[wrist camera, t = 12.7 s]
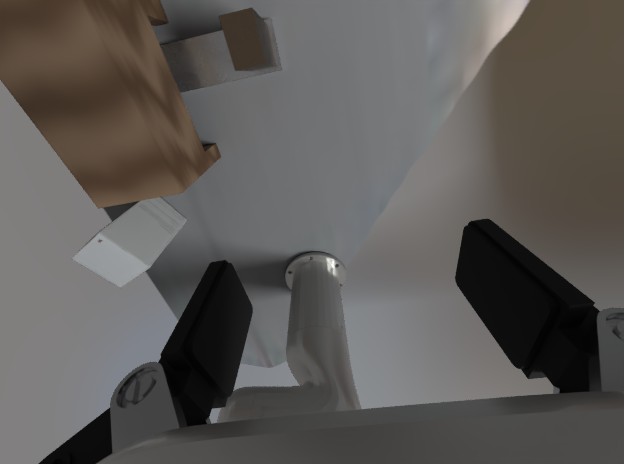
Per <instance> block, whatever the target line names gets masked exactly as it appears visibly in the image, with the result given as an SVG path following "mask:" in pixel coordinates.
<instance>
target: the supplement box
mask: <svg viewBox="0 0 624 464" xmlns="http://www.w3.org/2000/svg"><path fill="white" fill-rule="evenodd" d="M186 221H187V220H186V219H185V218H184V217H183V216H182V215H180V214H179V213H178V212H177V211H176V210H175V209H173V208H172V207H171V206H170V205H169V204H167V203H166V202H165V201H164V200H163V199H162V198H160V197H158V198H153V199H147V200H142V201H139V202H138V203H136V204H135V205H134V206H132V207H131V208H130V209H128V210H127V211H126V212H124V213H123V214H122V215H120V216H119V217H118V218H116V219H115V220H114V221H112V222H111V223H110V224H108V225H107V226H106V227H104V228H103V229H102V230H101V231H99V232H98V233H97V234H96V235H95V236H94V237H93V238H92V239H91V240H90V241H89V242H88V243H87V244H86V245H85V246H84V247H83V248H82V249H81V250H80V251H79V252H78V253H77V254H76V255H75V256H74V257H73V258H72V260H74V261H76V262H78V263H79V264H81V265H83V266H84V267H86V268H88V269H89V270H91V271H93V272H94V273H96V274H98V275H99V276H101V277H103V278H104V279H106V280H108V281H109V282H111V283H113V284H114V285H116V286H118V287H119V288H122V287H123V286H124V285H125V284H127V283H129V282H130V281H131V280H133V279H134V278H136V277H137V276H139V275H140V274H142V273H143V272H145V271H146V270H147V269H149V268H150V267H151V266H152V264H153V263H154V261H155V260H156V259H157V258H158V256H159V255H160V254H161V253H162V251H163V250H164V249H165V248H166V246H167V245H168V244H169V243H170V242H171V240H172V239H173V238H174V237H175V235H176V234H177V233H178V232H179V230H180V229H181V228H182V227H183V225H184V224H185V223H186Z"/></svg>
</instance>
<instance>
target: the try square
mask: <svg viewBox="0 0 624 464" xmlns="http://www.w3.org/2000/svg"><path fill="white" fill-rule="evenodd" d="M219 19H220V22H221V26H222V29H223V30H221V31H217V32H213V33H209V34H205V35H201V36H197V37H193V38H189V39H184V40H180V41H176V42H172V43H168V44H164V45H160V47H161V49H162V52H163V54H164V56H165V59H166V61H167V63H168V66H169V68H170V71H171V73H172V75H173V78H174V80H175V82H176V85H177V87H178V89H179V92H180V93H181V92H186V91H190V90H195V89H199V88H204V87H208V86H213V85H217V84H222V83H226V82H231V81H235V80H239V79H244V78H248V77H253V76H257V75H262V74H266V73H271V72H275V71H280V70H282V67H281V62H280V57H279V52H278V47H277V43H276V38H275V33H274V28H273V23H272V19H271V18H270V19H266V20H263V19H262V18H261V17H260V16H259V15H258V14H257V13H256V12H255V10H254V9H253V8H249V9H245V10H241V11H237V12H233V13H229V14H225V15H221V16H219Z"/></svg>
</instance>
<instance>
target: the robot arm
mask: <svg viewBox="0 0 624 464" xmlns="http://www.w3.org/2000/svg"><path fill="white" fill-rule="evenodd" d="M455 279H456V283H457V286H458V287H459V289H460V290H461V291H462V293H463V294H464V296H465V297H466V299H467V300H468V301H469V303H470V304H471V306H472V307H473V309H474V310H475V311H476V313H477V314H478V316H479V317H480V318H481V320H482V321H483V323H484V324H485V326H486V327H487V328H488V330H489V331H490V333H491V334H492V336H493V337H494V338H495V340H496V341H497V343H498V344H499V346H500V347H501V348H502V350H503V351H504V353H505V354H506V356H507V357H508V358H509V360H510V361H511V363H512V364H513V365H514V366H515V367H516V368H518V369H521V370H522V371H523V373H524V374H525V375H526V377H527V378H528V379H533V378H543V377H547V378H548V379H549V380H550V382H551V383H552V385H553V386H554V387H553V394H543V395H528V396H515V397H501V398H489V399H477V400H466V401H453V402H441V403H429V404H417V405H405V406H394V407H382V408H371V409H361V406H360V402H359V399H358V395H357V391H356V388H355V383H354V380H353V374H352V369H351V363H350V358H349V350H348V343H347V335H346V328H345V320H344V313H343V305H342V298H341V288H342V287H343V286H344V284H345V281H346V272H345V268H344V266H343V264H342V263H341V262H340V261H339V260H338V259H337V258H335V257H334V256H332V255H329V254H326V253H321V252H311V253H306V254H302V255H300V256H298V257H296V258H295V259H293V260H292V261H291V262H290V263H289V265H288V267H287V269H286V274H285V280H286V283H287V285H288V287H289V289H290V290H291V302H290V313H289V324H288V335H287V346H286V357H287V362H288V366H289V368H290V370H291V372H292V374H293V376H294V377H295V379H296V380H297V382H298V383H299V385H300V386H292V387H243V388H239V389H237V390H235V391H233V389H234V385H235V381H236V377H237V373H238V369H239V365H240V361H241V357H242V353H243V349H244V345H245V341H246V337H247V333H248V329H249V325H250V321H251V317H252V313H253V308H252V304H251V302H250V300H249V298H248V296H247V294H246V292H245V290H244V288H243V286H242V284H241V282H240V280H239V278H238V276H237V273H236V271H235V269H234V267H233V265H232V264H231V263H228V262H227V261H226V260H223V261H216V262H212V263H210V264H209V266H208V268H207V270H206V272H205V274H204V275H203V277H202V279H201V281H200V283H199V285H198V287H197V288H196V290H195V292H194V294H193V296H192V298H191V299H190V301H189V303H188V305H187V307H186V309H185V310H184V312H183V314H182V316H181V318H180V320H179V321H178V323H177V325H176V327H175V329H174V331H173V332H172V335H171V336H170V338H169V340H168V342H167V344H166V345H165V347H164V349H163V351H162V353H161V359H160V360H159V362H158V363H157V362H149V363H145V364H143V365H141V366H139V367H137V368H135V369H134V370H133V371H132V372H130V373H129V374H128V375H127V376H126V377H125V378H124V379H123V380H122V381H121V382H120V384H119V385H118V386H117V388H116V389H115V391H114V393H113V395H112V398H111V403H110V408H109V409H107V410H106V411H105V412H104V413H102V414H101V415H100V416H99V417H97V418H96V419H95V420H93V421H92V422H91V423H89V424H88V425H87V426H86V427H84V428H83V429H82V430H80V431H79V432H78V433H77V434H75V435H74V436H73V437H71V438H70V439H69V440H67V441H66V442H65V443H64V444H62V445H61V446H60V447H59V448H57V449H56V450H55V451H53V452H52V453H51V454H49V455H48V456H47V457H46V458H45V459H43V460H42V461H41V462H40V463H39V464H624V308H609V309H604V310H602V311H601V312H600V311H599V310H598V309H597V308H595V307H594V306H593V305H594V303H595V302H593V301H592V300H591V299H589V298H588V297H587V296H586V295H584V294H583V293H582V292H580V291H579V290H578V289H577V288H576V287H574V286H573V285H572V284H571V283H569V282H568V281H567V280H566V279H564V278H563V277H562V276H561V275H559V274H558V273H557V272H555V271H554V270H553V269H552V268H550V267H549V266H548V265H547V264H545V263H544V262H543V261H541V260H540V259H539V258H538V257H536V256H535V255H534V254H533V253H532V252H530V251H529V250H528V249H526V248H525V247H524V246H523V245H521V244H520V243H519V242H518V241H516V240H515V239H514V238H512V237H511V236H510V235H509V234H508V233H506V232H505V231H504V230H503V229H501V228H500V227H499V226H498V225H496V224H495V223H494V222H492V221H491V220H490V219H482V220H475V221H471V222H469V223H468V226H465V227H464V230H463V236H462V241H461V247H460V253H459V259H458V264H457V270H456V276H455ZM212 408H221V410H220V413H219V416H218V420H217V423H214V424H211V421H210V419H209V416H210V412H211V409H212Z"/></svg>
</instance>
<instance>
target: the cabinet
mask: <svg viewBox="0 0 624 464" xmlns="http://www.w3.org/2000/svg"><path fill="white" fill-rule="evenodd" d="M166 23H169V22H168V20H167V17H166V15H165V12H164V9H163V7H162V4H161V2H160V0H0V80H1V81H2V82H3V84H4V85H5V86H6V87H7V89H8V90H9V91H10V93H11V94H12V95H13V97H14V98H15V99H16V101H17V102H18V103H19V105H20V106H21V107H22V108H23V110H24V111H25V113H26V114H27V115H28V116H29V118H30V119H31V120H32V122H33V123H34V124H35V126H36V127H37V128H38V130H39V131H40V132H41V134H42V135H43V136H44V137H45V139H46V140H47V141H48V143H49V144H50V145H51V147H52V148H53V149H54V150H55V152H56V153H57V155H58V156H59V157H60V159H61V160H62V161H63V163H64V164H65V165H66V166H67V168H68V169H69V170H70V172H71V173H72V174H73V175H74V177H75V178H76V180H77V181H78V182H79V184H80V185H81V186H82V188H83V189H84V190H85V191H86V193H87V194H88V195H89V197H90V198H91V199H92V201H93V202H94V203H95V205H96V206H97V207H98V208H104V207H109V206H115V205H120V204H126V203H131V202H137V201H142V200H147V199H153V198H158V197H164V196H169V195H175V194H180V193H183V192H184V191H185V190H186V189H187V188H188V187H189V186H190V185H191V184H192V183H193V182H194V181H196V180H197V179H198V178H199V177H200V176H201V175H202V174H203V173H204V172H205V171H206V170H207V169H209V168H210V167H211V166H212V165H213V164H214V163H215V162H216V161H217V160H218V159H219V158H220V157H221V155H220V153H219V150H218V147H217V145H216V144H211V145H206V146H202V144H201V141H200V139H199V137H198V134H197V132H196V130H195V127H194V125H193V122H192V120H191V118H190V115H189V113H188V111H187V108H186V106H185V104H184V101H183V99H182V97H181V94H180V92H179V89H178V87H177V85H176V82H175V80H174V78H173V75H172V73H171V71H170V68H169V66H168V63H167V61H166V59H165V56H164V54H163V52H162V49H161V47H160V45H159V42H158V40H157V37H156V35H155V33H154V30H153V28H152V26H151V24H153V25H156V26H158V25H162V24H166Z"/></svg>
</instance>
